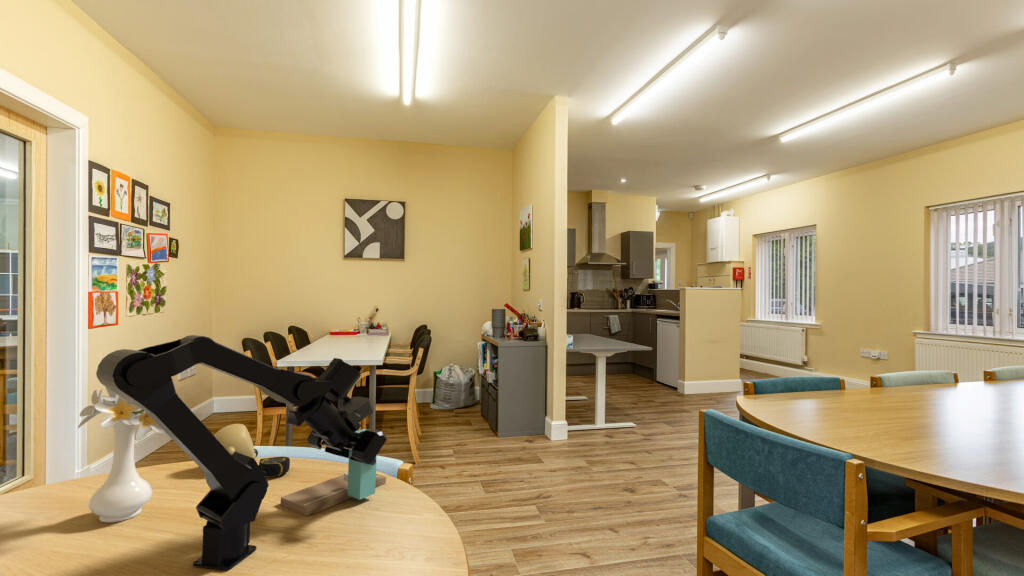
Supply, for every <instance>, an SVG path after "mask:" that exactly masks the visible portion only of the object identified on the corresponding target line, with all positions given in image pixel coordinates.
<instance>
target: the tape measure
mask: <svg viewBox="0 0 1024 576" xmlns="http://www.w3.org/2000/svg"><path fill="white" fill-rule="evenodd" d="M290 465H291V459H290V457H287V456H274V457H273V456H272V457H266V458H265V457H264V458H260V459H259V462H258V466H259V467H260V469H261V470H262V471H264V472H267V473H268V474H267V475H265V476H264V477H265V478H275V477H274V476H277V477H280V476H283V475H285V474H287V473H288V472H289V471H290V467H291V466H290Z"/></svg>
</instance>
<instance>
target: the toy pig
mask: <svg viewBox="0 0 1024 576" xmlns="http://www.w3.org/2000/svg"><path fill="white" fill-rule="evenodd" d="M213 435H214V436H215V438H216V439H217V440H218V441H219V442H220V443H221V444H222V445H223V446H224V447H225V449H226V450H227V451H228V452H229V453H230V454H231V455H233V453H234V452H238V453H241V454H244V455H246V456H249V457H252V458H254V459H255V460H256V458H257V456H259V455H258V454H259V450H258V449H256V448H255V446H254V443H253V441H252V437H251V435H250V432H249V430H248V428H247V426H246V425H244V424H242V423H233V424H229V425H226V426H223V427H222V428H220V429H219V430H217V432H216V433H215V434H213Z"/></svg>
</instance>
